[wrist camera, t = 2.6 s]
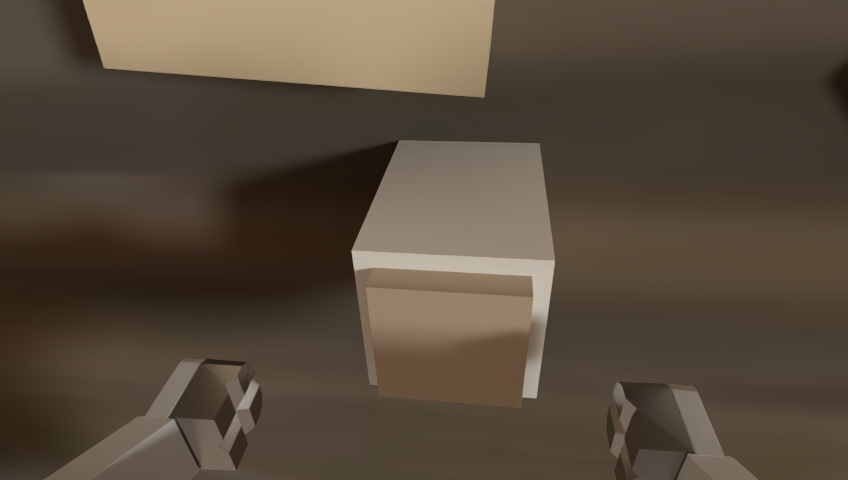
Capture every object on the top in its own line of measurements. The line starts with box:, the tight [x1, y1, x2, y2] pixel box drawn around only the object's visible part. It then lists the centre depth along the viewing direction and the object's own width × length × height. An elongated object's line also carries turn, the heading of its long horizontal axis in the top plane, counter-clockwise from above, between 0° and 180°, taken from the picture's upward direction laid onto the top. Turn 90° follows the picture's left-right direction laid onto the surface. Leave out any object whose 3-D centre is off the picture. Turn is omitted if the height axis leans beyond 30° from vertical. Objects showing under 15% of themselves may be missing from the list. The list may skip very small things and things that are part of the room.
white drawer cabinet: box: [351, 140, 555, 408], centre depth 16 cm, size 5×5×8 cm
